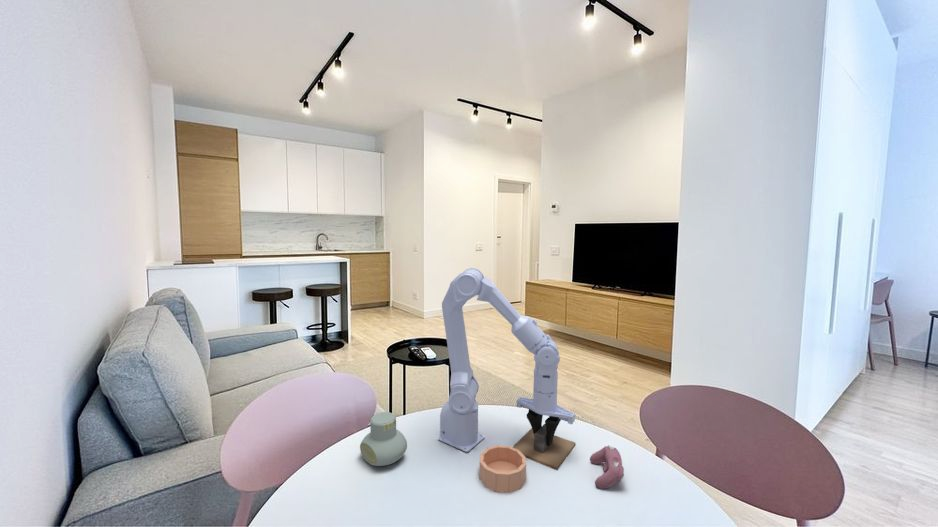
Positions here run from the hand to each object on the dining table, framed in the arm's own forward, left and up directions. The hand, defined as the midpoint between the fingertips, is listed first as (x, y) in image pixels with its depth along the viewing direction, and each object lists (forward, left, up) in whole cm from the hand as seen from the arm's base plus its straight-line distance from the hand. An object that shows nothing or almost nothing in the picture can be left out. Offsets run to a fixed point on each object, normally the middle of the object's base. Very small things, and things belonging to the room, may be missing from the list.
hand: (543, 441), depth 91 cm
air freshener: (-29, -26, -2) cm, 39 cm away
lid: (0, 0, -2) cm, 2 cm away
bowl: (-3, -15, -2) cm, 15 cm away
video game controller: (+16, -1, -2) cm, 16 cm away
